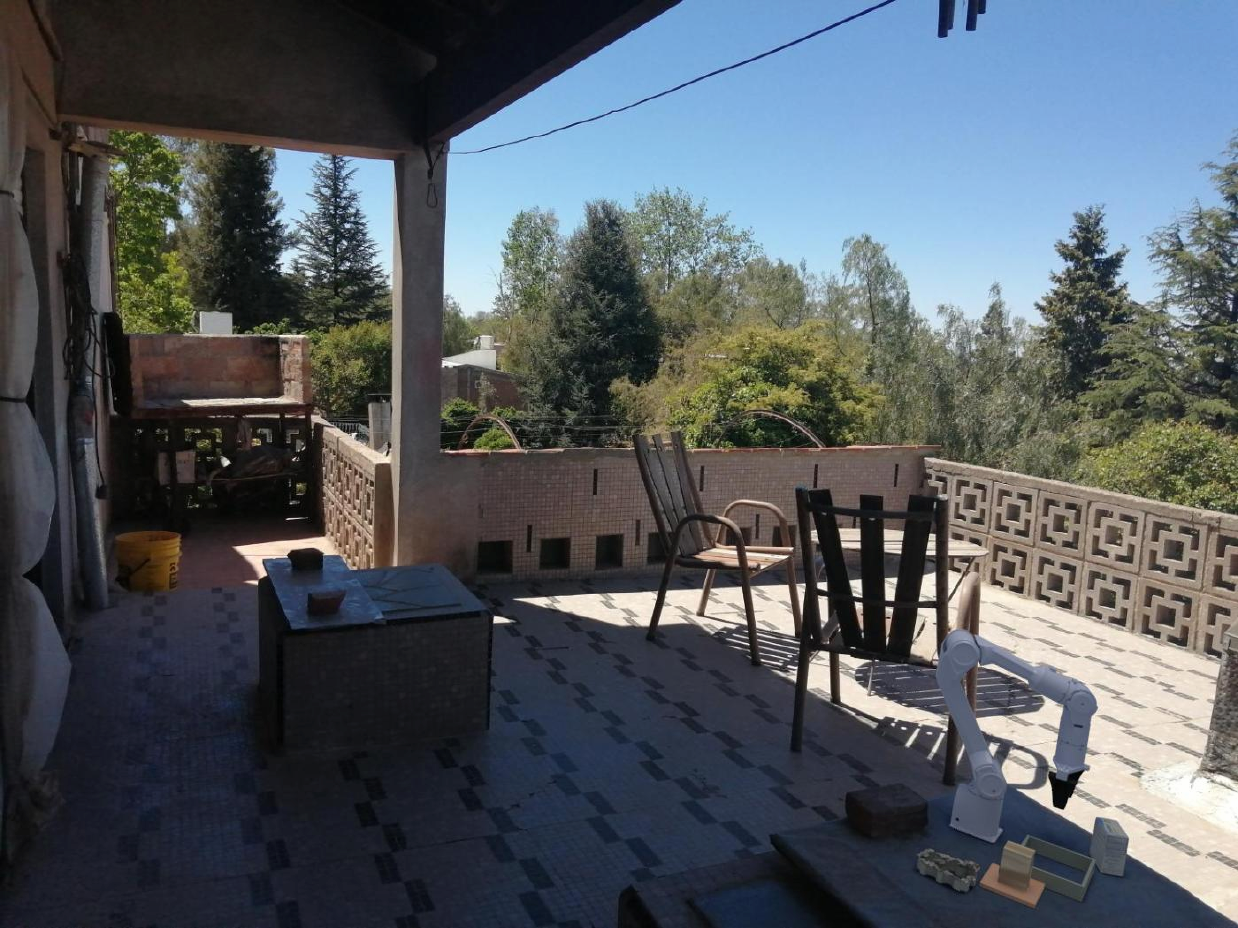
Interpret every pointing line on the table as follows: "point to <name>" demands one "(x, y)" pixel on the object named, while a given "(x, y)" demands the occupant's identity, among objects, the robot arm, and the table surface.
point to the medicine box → (1109, 846)
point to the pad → (1025, 898)
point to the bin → (1066, 858)
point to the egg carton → (939, 862)
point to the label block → (1016, 866)
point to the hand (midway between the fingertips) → (1062, 801)
